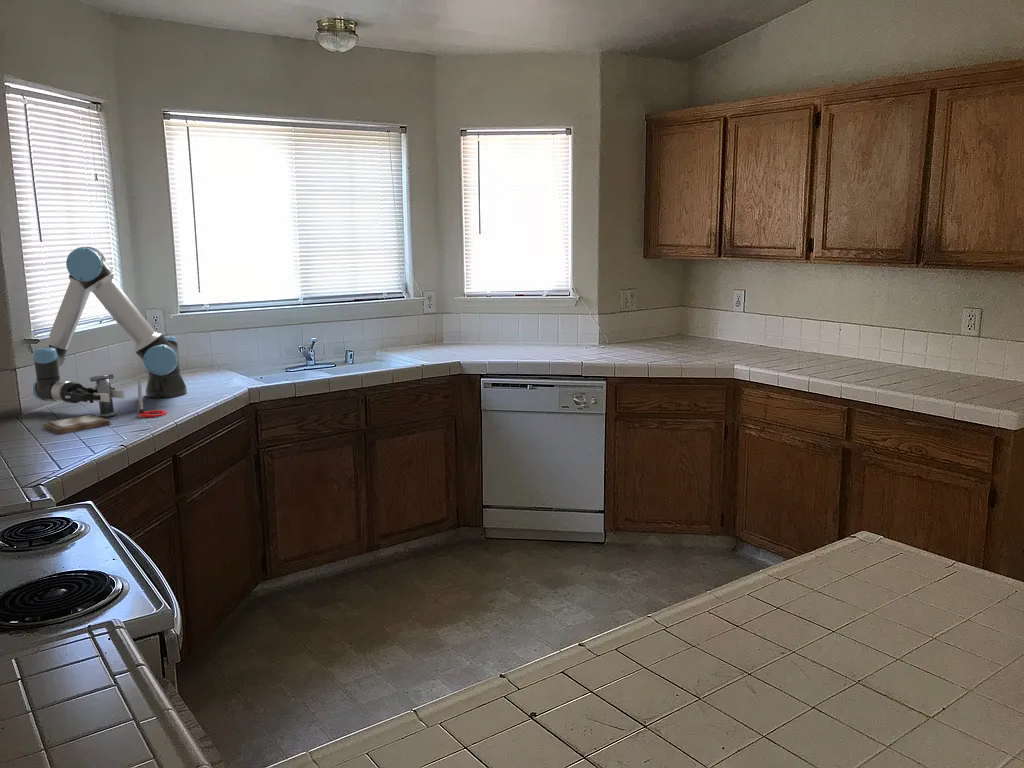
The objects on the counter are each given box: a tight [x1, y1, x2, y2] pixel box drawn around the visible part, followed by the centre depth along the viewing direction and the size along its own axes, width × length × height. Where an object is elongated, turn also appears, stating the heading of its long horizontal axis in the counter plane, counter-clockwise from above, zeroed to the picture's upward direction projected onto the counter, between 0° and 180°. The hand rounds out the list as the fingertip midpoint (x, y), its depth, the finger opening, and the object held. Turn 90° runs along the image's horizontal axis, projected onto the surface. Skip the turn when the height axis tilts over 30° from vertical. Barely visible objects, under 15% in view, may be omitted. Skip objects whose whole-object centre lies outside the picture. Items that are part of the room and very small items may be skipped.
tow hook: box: [137, 379, 168, 419], centre depth 292 cm, size 8×13×9 cm
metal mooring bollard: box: [89, 373, 118, 418], centre depth 292 cm, size 8×6×14 cm
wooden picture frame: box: [42, 414, 111, 435], centre depth 278 cm, size 16×14×2 cm
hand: (115, 396), depth 290 cm, fingers open, 6 cm apart
